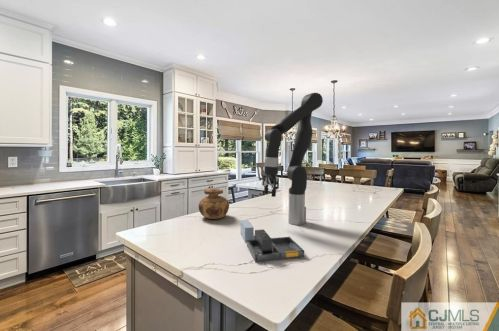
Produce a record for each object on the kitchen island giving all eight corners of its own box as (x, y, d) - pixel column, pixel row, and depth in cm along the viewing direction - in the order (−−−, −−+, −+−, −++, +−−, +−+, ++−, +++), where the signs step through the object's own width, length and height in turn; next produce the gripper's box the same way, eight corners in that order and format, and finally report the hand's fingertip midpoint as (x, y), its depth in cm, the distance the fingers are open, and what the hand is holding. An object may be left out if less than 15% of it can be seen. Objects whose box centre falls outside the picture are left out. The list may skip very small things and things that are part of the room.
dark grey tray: (289, 242, 113) (289, 226, 112) (304, 257, 97) (304, 238, 96) (246, 245, 109) (246, 229, 108) (255, 262, 93) (255, 243, 92)
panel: (248, 233, 125) (248, 220, 125) (253, 242, 113) (253, 227, 113) (240, 234, 124) (240, 220, 124) (245, 242, 113) (245, 227, 112)
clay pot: (236, 215, 148) (223, 185, 145) (207, 229, 144) (193, 199, 140) (229, 207, 167) (217, 181, 163) (203, 219, 162) (191, 193, 158)
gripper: (284, 166, 129) (282, 197, 130) (271, 165, 142) (269, 192, 143) (271, 166, 126) (269, 197, 127) (259, 164, 139) (257, 193, 140)
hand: (269, 195), depth 135 cm, fingers open, 8 cm apart
